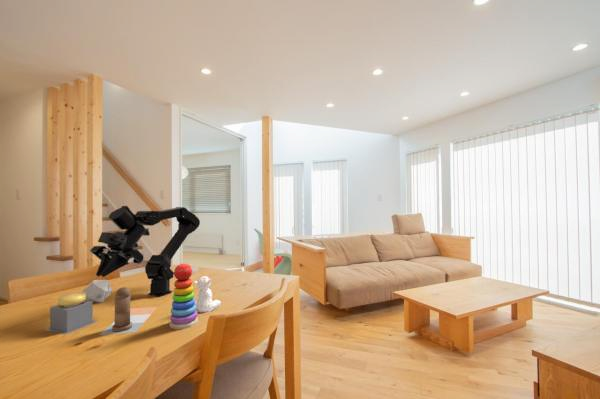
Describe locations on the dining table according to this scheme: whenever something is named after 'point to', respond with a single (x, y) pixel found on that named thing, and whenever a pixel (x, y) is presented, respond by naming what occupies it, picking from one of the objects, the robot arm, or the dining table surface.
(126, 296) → the brown round-topped post
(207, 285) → the seated beast figurine
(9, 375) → the dining table surface
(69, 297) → the dome button
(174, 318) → the stacking toy
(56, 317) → the box
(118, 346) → the dining table surface
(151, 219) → the robot arm
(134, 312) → the game board
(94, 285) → the die
